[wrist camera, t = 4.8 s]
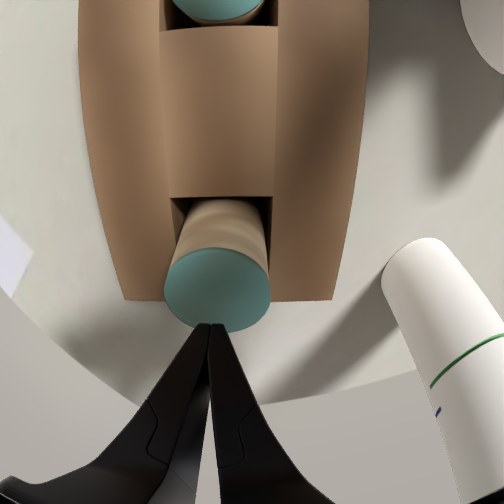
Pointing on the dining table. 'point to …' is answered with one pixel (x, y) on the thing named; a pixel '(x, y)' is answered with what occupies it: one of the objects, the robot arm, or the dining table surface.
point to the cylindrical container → (453, 358)
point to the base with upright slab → (486, 29)
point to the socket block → (224, 131)
